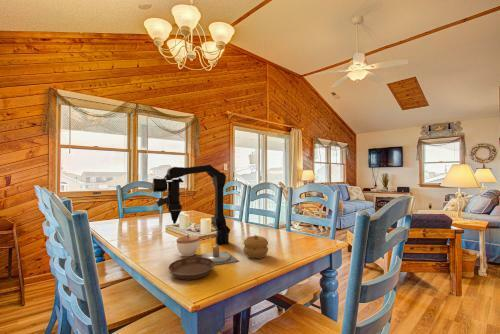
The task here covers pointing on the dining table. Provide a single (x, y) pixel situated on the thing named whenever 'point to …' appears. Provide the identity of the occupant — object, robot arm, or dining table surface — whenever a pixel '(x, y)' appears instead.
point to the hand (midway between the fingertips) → (173, 221)
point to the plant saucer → (191, 267)
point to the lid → (217, 255)
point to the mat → (231, 260)
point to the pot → (255, 246)
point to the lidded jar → (188, 245)
